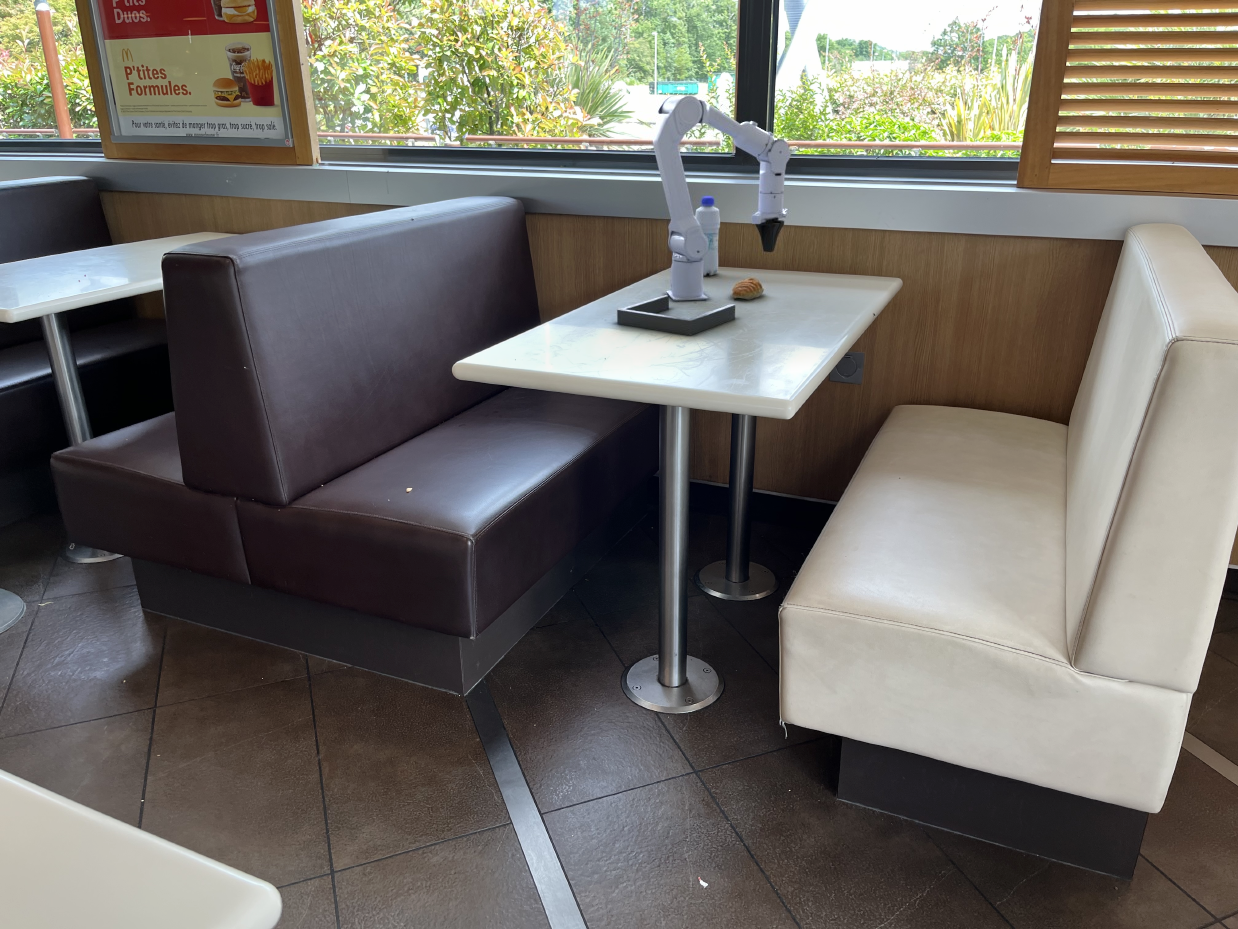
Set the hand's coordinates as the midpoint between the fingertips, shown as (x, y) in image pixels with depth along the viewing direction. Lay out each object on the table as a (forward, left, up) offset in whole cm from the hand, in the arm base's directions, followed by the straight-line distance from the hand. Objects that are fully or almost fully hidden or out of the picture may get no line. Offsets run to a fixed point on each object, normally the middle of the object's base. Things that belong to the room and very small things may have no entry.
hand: (768, 251), depth 214 cm
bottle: (-23, -10, -9) cm, 27 cm away
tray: (+28, -28, -9) cm, 40 cm away
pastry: (+7, -7, -9) cm, 13 cm away
